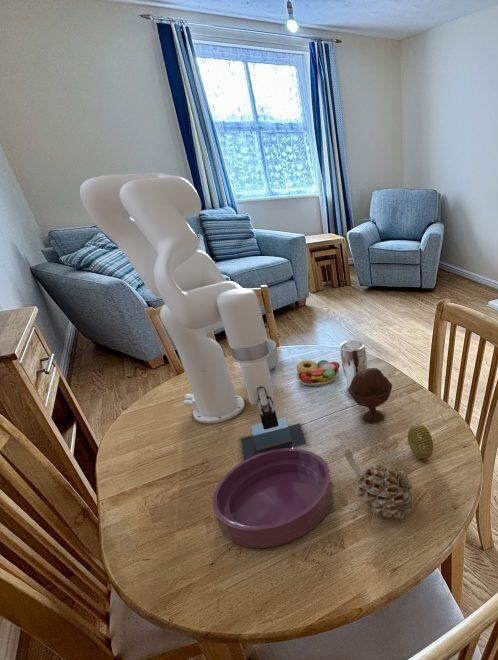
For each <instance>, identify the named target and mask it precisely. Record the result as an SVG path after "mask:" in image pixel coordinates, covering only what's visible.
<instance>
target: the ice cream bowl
mask: <svg viewBox="0 0 498 660" xmlns="http://www.w3.org/2000/svg"><path fill="white" fill-rule="evenodd" d="M392 388H393V383H392V382H391V381H390V380H389V379H388V377H387V376H386V375H384V373H383V372H382V370H380V369H379V368H377V367H367V369H366V370H365V371H361V372H359V373H357V374H356V375H355V376H354V378H353V379H352V382H351V385H350V387H349V389H348V391H349V393H350V395H351V397H350V398H352V400H353V401H354V402H355V403H356V404H357V405H359V406H360V407H365V408H367V409H368V411H365V412H364V413H363V416H362V420H363V421H364V423H368V424H377V423H381V421H383V420H384V414H383V412H382V411H380V410H378V409H377V407H379V406H381V405H383V404H384V403H386V402H387V401H388V400H389V398H390V396H391V392H392Z"/></svg>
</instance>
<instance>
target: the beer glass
mask: <svg viewBox="0 0 498 660" xmlns="http://www.w3.org/2000/svg"><path fill="white" fill-rule="evenodd" d="M365 344H366V343H365V342H363V341H361V340H356V339H355V340H354V339H352V340H347V341H343V342H342V343H341V344H340V361H341V366H342V371H343V373H344V376H345V379H346V385H347V386H346V394H347V396H348V397H350V398H352V397H351V395H350V393H349V391H348V389H349V387H350V385H351V382H352V379H353V378H354V376H355V375H356V374H357V373H359V372H361V371H365V370H366V369H368V357H367V350H366V345H365Z"/></svg>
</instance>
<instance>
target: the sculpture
mask: <svg viewBox="0 0 498 660" xmlns="http://www.w3.org/2000/svg"><path fill="white" fill-rule="evenodd" d="M407 443H408V446H409V448H410V450H411V452H412V454H413V455H414V457H416V458H417V459H419V460H425V459H428V458H430V457H431V456H432V455H433V453H434V440H433V437H432V435H431V433H430V431H429V430H428V428H427V427H426V426H424V425H422V424H414V425H412V426H410V428H409V430H408V432H407Z"/></svg>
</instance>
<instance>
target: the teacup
mask: <svg viewBox="0 0 498 660" xmlns="http://www.w3.org/2000/svg"><path fill="white" fill-rule="evenodd" d="M268 342H269V346H270V350H271V354H270V355H269V356H268V357H267V358H266V359H267V363H268V367H269V372H270V371H271V370H273V369H274V368H275V367H276V366H277V364H278V362H279V354H278V348H277V343H276V341H274V340H273V339H270V338H268Z"/></svg>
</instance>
